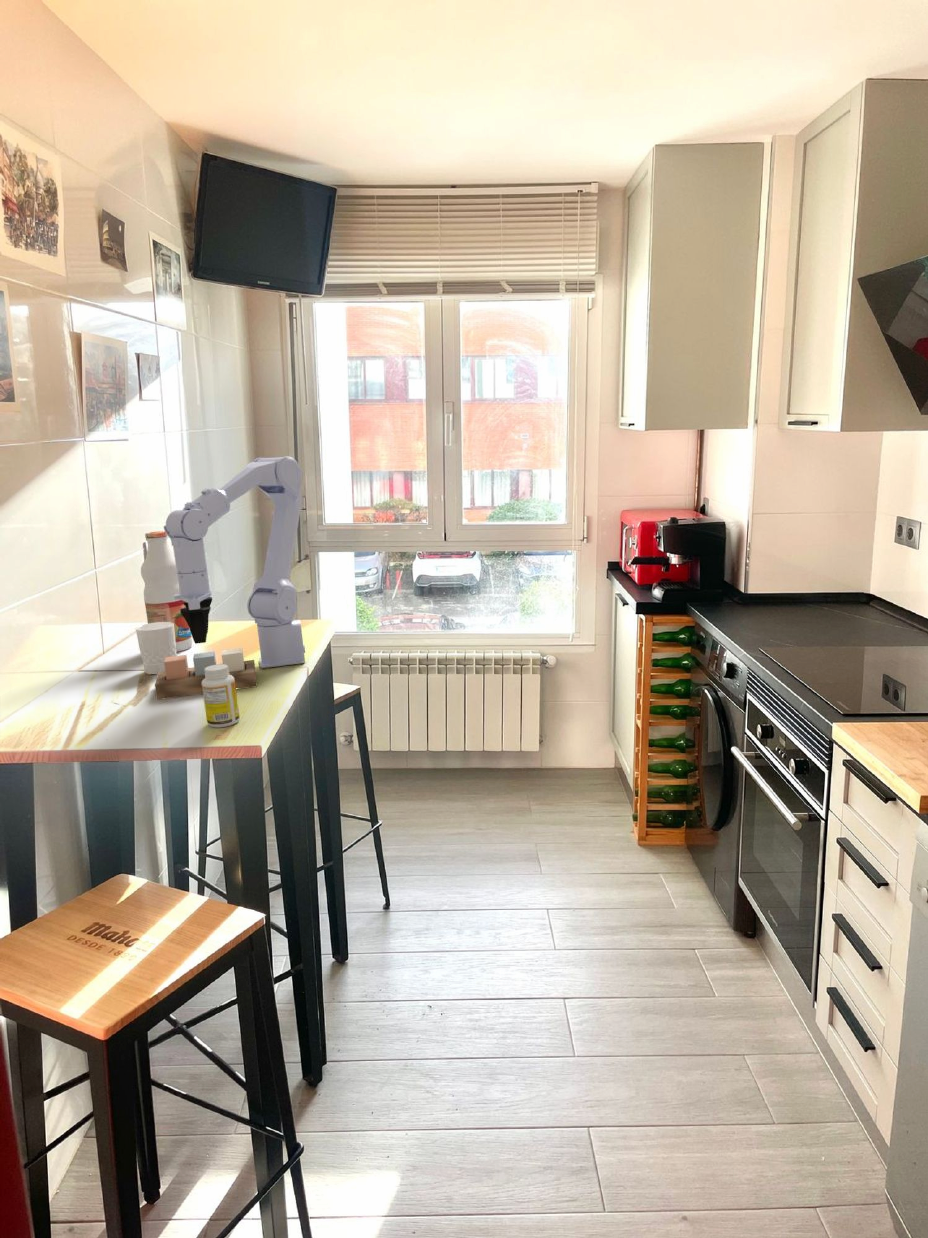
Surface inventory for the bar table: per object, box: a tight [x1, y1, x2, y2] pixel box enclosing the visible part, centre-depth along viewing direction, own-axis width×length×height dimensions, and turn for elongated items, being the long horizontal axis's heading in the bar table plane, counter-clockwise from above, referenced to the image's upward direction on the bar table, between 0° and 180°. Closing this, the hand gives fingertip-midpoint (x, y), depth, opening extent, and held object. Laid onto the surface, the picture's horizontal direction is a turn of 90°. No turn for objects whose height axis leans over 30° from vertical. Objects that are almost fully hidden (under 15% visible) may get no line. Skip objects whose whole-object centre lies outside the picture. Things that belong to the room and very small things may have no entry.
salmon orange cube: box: [164, 654, 189, 680], centre depth 182 cm, size 4×4×4 cm
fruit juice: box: [140, 530, 193, 653], centre depth 215 cm, size 9×9×28 cm
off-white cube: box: [221, 647, 245, 672], centre depth 184 cm, size 4×4×4 cm
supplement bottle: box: [202, 663, 240, 728], centre depth 159 cm, size 6×6×10 cm
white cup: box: [135, 622, 178, 675], centre depth 198 cm, size 8×8×10 cm
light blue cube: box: [192, 651, 217, 676], centre depth 183 cm, size 4×4×4 cm
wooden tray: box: [154, 659, 257, 700], centre depth 184 cm, size 19×10×3 cm, turn 103°
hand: (201, 638), depth 182 cm, fingers open, 7 cm apart
